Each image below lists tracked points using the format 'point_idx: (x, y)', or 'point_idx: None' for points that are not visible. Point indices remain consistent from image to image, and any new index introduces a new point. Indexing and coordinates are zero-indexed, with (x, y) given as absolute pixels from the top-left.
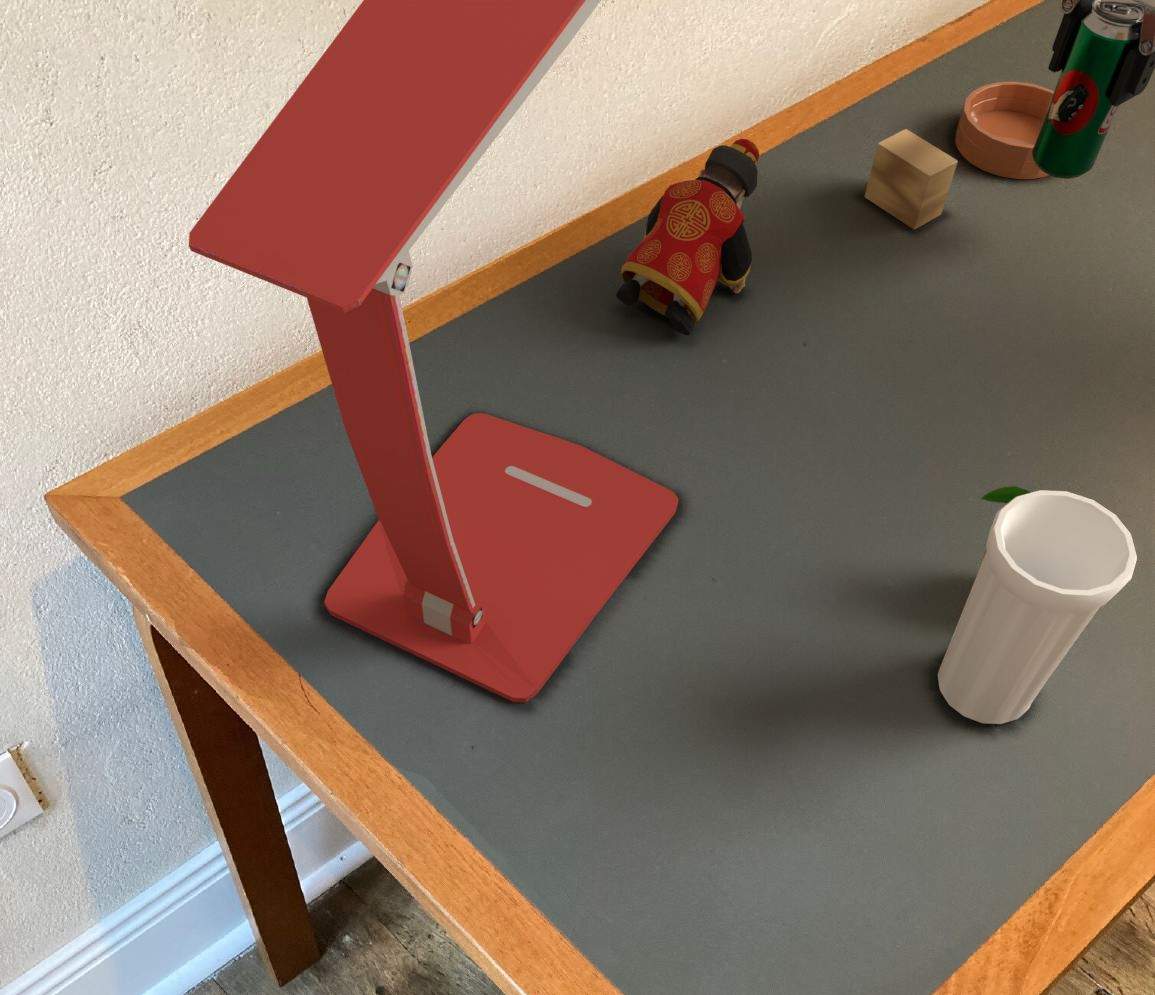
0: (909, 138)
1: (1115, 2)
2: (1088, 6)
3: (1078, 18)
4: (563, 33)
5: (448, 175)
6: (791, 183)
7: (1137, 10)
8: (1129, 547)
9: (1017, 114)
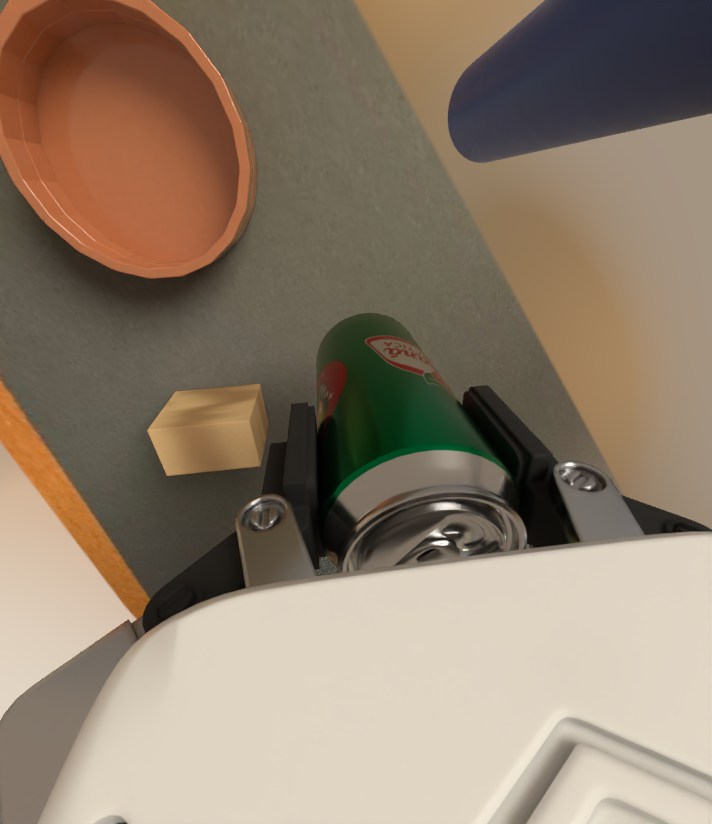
0: (172, 440)
1: (397, 557)
2: (311, 536)
3: (318, 544)
4: None
5: None
6: (133, 476)
7: (467, 519)
8: None
9: (62, 62)
